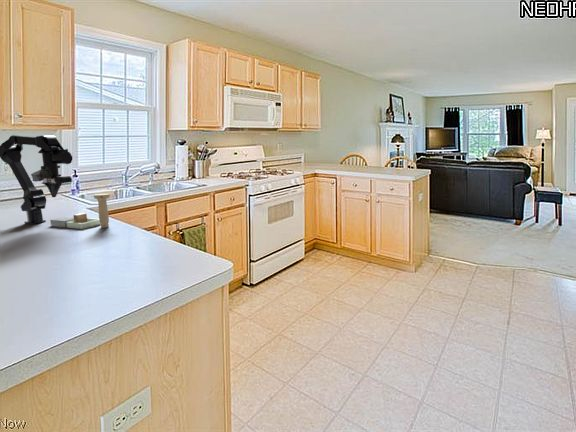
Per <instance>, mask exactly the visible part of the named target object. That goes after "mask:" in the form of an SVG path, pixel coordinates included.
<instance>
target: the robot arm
mask: <svg viewBox="0 0 576 432" xmlns="http://www.w3.org/2000/svg"><path fill="white" fill-rule="evenodd" d="M23 145H26V146H35V147H37V148H39V149H40V150H39V151H37V153H38V154H41V156H42V158H41V159H42V165H40V169H39V170H37V171H34V172H32V173H31V174H30V175H29V174H28V172H27V170H26V169H25V167H24V165H23V163H22V152H23V150H24V147H23ZM0 159H1V161H2V162H4V163H6V164H7V165H8V166H9V167H10V168H11V171H12V173H13V175H14V177H15V178H16V180H17V182H18V183H19V185H20V187H21V190H22V191H23V195H22V196H23V197H22V198H23V202H22V204H21V206H20V209H21V212H26V218H27V221H24V223H25V224H29V225H34V224H35V225H36V224H40V223H45V222H47V221H46V220H45V219H44V216H43V212H42V211H43V209H44V210H45V209H46V204H47V197H46V196H47V195H45V193H44V191H43V189H41V188H39V189H38V188H36V187H35V185H34V183H33V182H41V184H43V185H45V186H46V187H47V189H48V191H49V193H50V195H51V197H52V198H56V197H57V195H58V192H59V191H60V188H61V186H62V184H69V183H72V182H73V180H72V179H73V178H72V177H71V176H70V175H62V174H60V173H59V169H60V168H61V166H60V165H70V164H71V163H72V162H73V155H72V153H71V152H70V151H69V150H68V148H64V147H63V146H62V144H61V143H60V141H59V140H58V138H57V137H56V136H55V135H37V136H27V135H18V134H16V135H15V134H13V135H11V136H9V138H8V139H6V140H5V141H4V142H3V143H1V144H0ZM30 176H31V177H30ZM31 179H32V180H31Z"/></svg>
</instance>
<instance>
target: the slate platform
mask: <svg viewBox="0 0 576 432" xmlns="http://www.w3.org/2000/svg"><path fill="white" fill-rule="evenodd" d="M69 221H74V217H69V216H67V217H66V216H62V217H61V216H60V217H57V218H52V219H50V226H51V227H55V228H57V227H58V228H68V227H67V222H69Z"/></svg>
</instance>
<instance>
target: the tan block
mask: <svg viewBox="0 0 576 432" xmlns="http://www.w3.org/2000/svg"><path fill="white" fill-rule="evenodd" d="M72 217H73V218H74V223H86V222H87V218H88V215H87V213H86V212H82V213H76V214H73V216H72Z"/></svg>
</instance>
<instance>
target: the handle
mask: <svg viewBox="0 0 576 432" xmlns="http://www.w3.org/2000/svg"><path fill="white" fill-rule="evenodd" d="M93 198H94V199H96V200H97V203H98V219H99V220H100V224H101V225H100V228H105V229H106V228H109V225H110V223H109V222H110V221H109V220H110V219H109V210H108V204H107V200H108V198H111V197H110V193H95V194H93Z"/></svg>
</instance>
